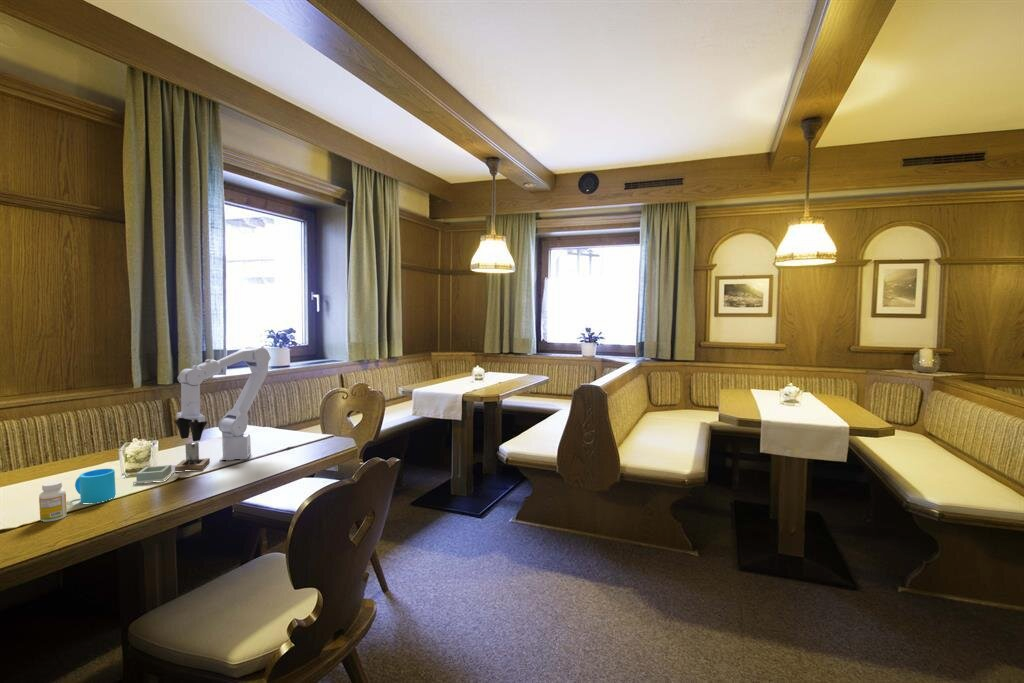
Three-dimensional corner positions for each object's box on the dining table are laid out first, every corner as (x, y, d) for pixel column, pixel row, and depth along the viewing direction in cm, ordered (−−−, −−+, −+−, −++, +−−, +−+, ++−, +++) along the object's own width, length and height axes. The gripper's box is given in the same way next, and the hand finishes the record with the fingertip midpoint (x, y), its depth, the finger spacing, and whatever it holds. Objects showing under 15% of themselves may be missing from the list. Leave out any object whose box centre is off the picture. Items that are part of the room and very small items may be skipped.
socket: (209, 463, 187) (209, 458, 187) (202, 470, 179) (202, 464, 179) (183, 465, 185) (183, 460, 184) (174, 472, 176) (174, 466, 176)
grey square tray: (174, 473, 175) (174, 464, 175) (164, 481, 167) (164, 472, 166) (144, 475, 173) (144, 466, 173) (133, 484, 164) (132, 474, 164)
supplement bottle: (51, 514, 140) (49, 480, 139) (72, 513, 140) (70, 479, 139) (34, 522, 134) (32, 487, 134) (56, 522, 135) (54, 486, 134)
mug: (122, 495, 154) (121, 469, 154) (96, 505, 146) (95, 478, 146) (90, 492, 156) (89, 467, 156) (62, 502, 148) (61, 475, 148)
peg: (200, 465, 184) (200, 441, 184) (197, 469, 180) (196, 444, 180) (188, 466, 183) (187, 442, 183) (184, 470, 179) (183, 445, 179)
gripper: (167, 401, 180) (167, 439, 181) (190, 405, 173) (190, 444, 174) (188, 399, 187) (188, 435, 187) (210, 402, 180) (210, 440, 180)
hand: (190, 439), depth 181 cm, fingers open, 7 cm apart
